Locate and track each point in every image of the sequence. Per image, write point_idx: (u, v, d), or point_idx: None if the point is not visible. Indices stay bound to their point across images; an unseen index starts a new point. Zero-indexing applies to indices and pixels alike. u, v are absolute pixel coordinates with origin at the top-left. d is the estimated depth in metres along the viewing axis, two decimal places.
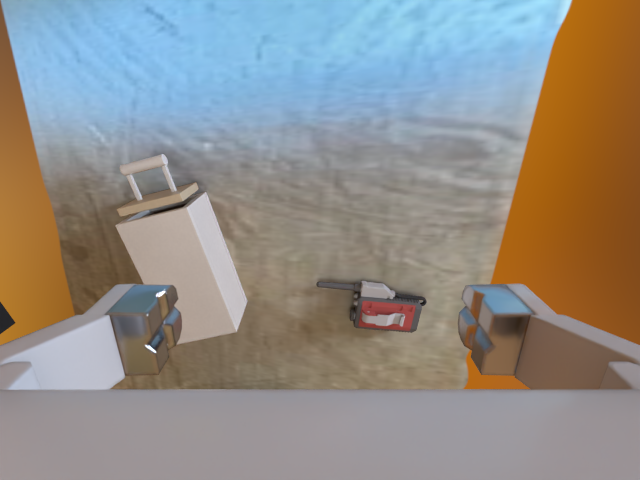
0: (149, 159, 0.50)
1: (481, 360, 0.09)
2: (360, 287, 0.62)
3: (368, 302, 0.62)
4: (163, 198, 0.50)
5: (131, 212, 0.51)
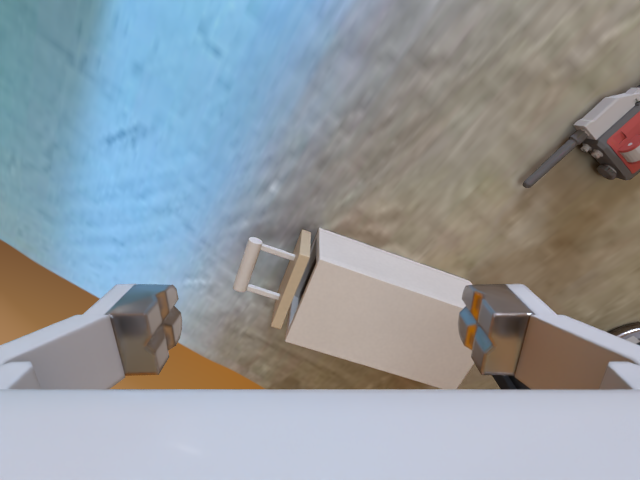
0: (245, 255, 0.39)
1: (481, 360, 0.09)
2: (583, 132, 0.38)
3: (616, 135, 0.37)
4: (292, 274, 0.37)
5: (283, 315, 0.39)
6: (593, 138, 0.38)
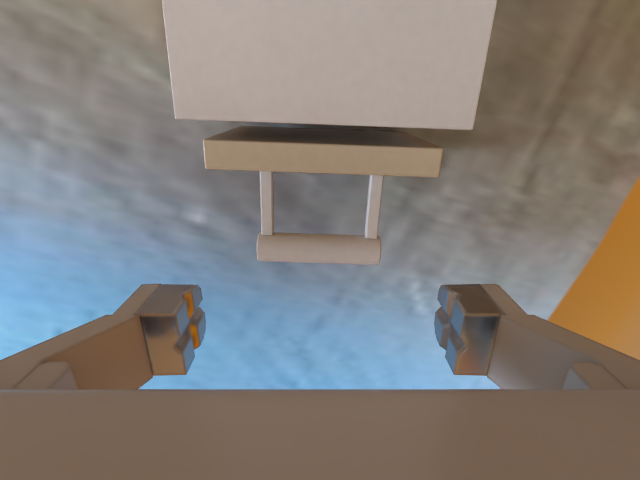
0: (293, 261, 0.19)
1: (454, 360, 0.09)
2: None
3: None
4: (266, 168, 0.14)
5: (396, 152, 0.14)
6: None
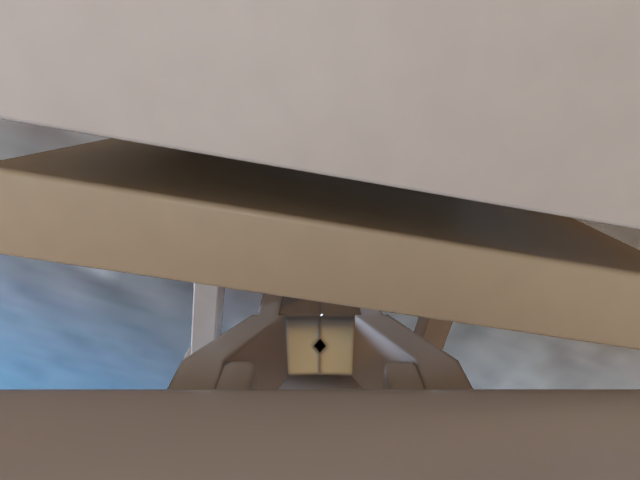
0: None
1: (319, 360, 0.09)
2: None
3: None
4: (185, 273, 0.05)
5: (581, 280, 0.05)
6: None
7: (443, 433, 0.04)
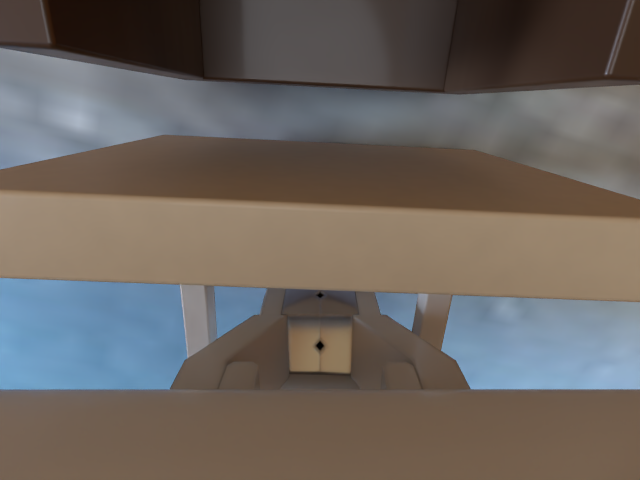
0: None
1: (317, 360, 0.09)
2: None
3: None
4: (146, 274, 0.05)
5: (564, 233, 0.04)
6: None
7: (443, 433, 0.04)
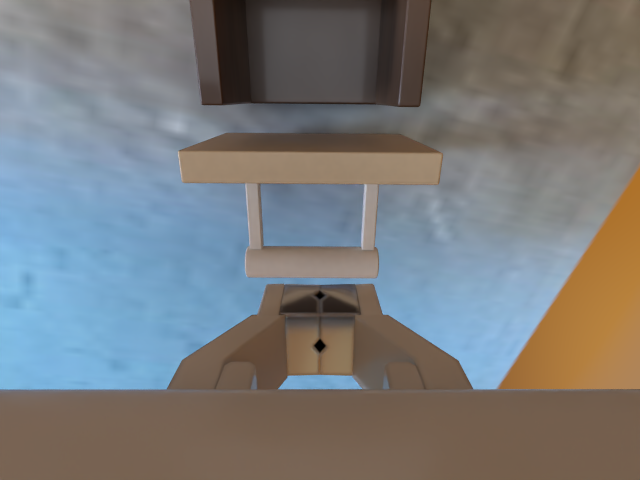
0: (284, 276, 0.18)
1: (320, 360, 0.09)
2: None
3: None
4: (248, 179, 0.13)
5: (391, 158, 0.13)
6: None
7: (443, 433, 0.04)
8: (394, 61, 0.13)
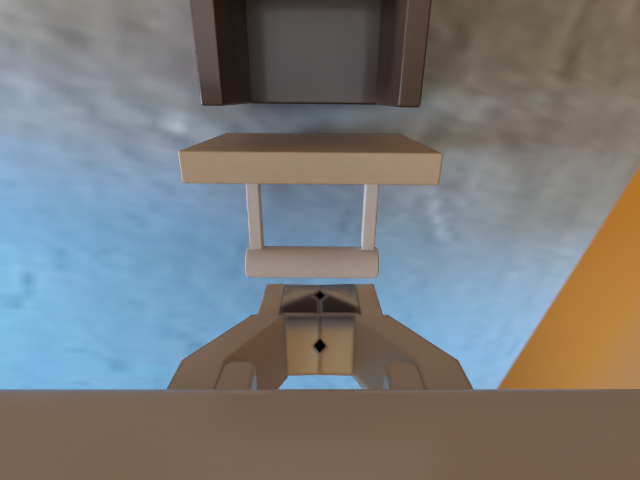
0: (284, 276, 0.18)
1: (320, 360, 0.09)
2: None
3: None
4: (249, 180, 0.13)
5: (391, 159, 0.13)
6: None
7: (443, 433, 0.04)
8: (394, 61, 0.13)
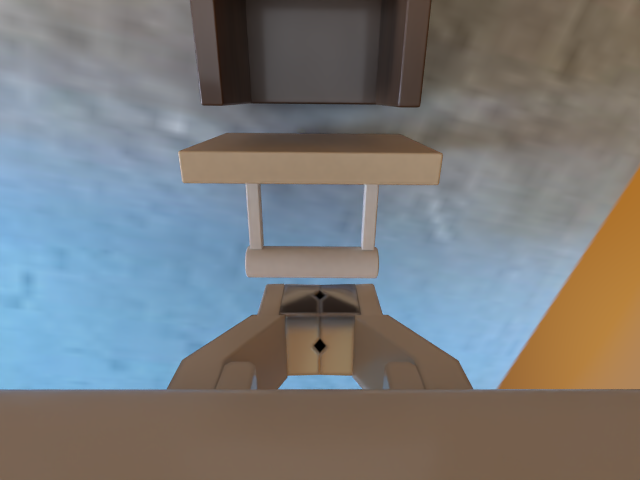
0: (284, 276, 0.18)
1: (320, 360, 0.09)
2: None
3: None
4: (249, 180, 0.13)
5: (391, 159, 0.13)
6: None
7: (443, 433, 0.04)
8: (394, 62, 0.13)
